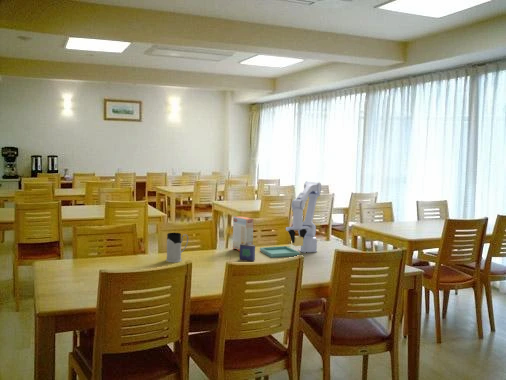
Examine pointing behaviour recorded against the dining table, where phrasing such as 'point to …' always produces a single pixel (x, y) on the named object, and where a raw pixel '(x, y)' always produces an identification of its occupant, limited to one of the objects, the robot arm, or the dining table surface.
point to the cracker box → (242, 231)
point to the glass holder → (174, 247)
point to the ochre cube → (298, 241)
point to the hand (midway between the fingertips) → (297, 242)
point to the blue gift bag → (247, 252)
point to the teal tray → (279, 251)
